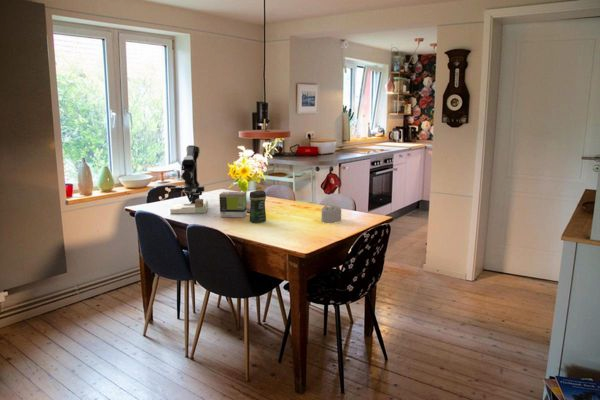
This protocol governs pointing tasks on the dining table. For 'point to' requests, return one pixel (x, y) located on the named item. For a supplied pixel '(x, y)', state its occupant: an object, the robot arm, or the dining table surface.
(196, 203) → the walnut block
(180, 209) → the trap board
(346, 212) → the dining table surface
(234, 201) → the retro computer monitor
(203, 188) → the robot arm
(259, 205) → the coffee jar
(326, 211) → the lumpy-topped squat cylinder
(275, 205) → the dining table surface
